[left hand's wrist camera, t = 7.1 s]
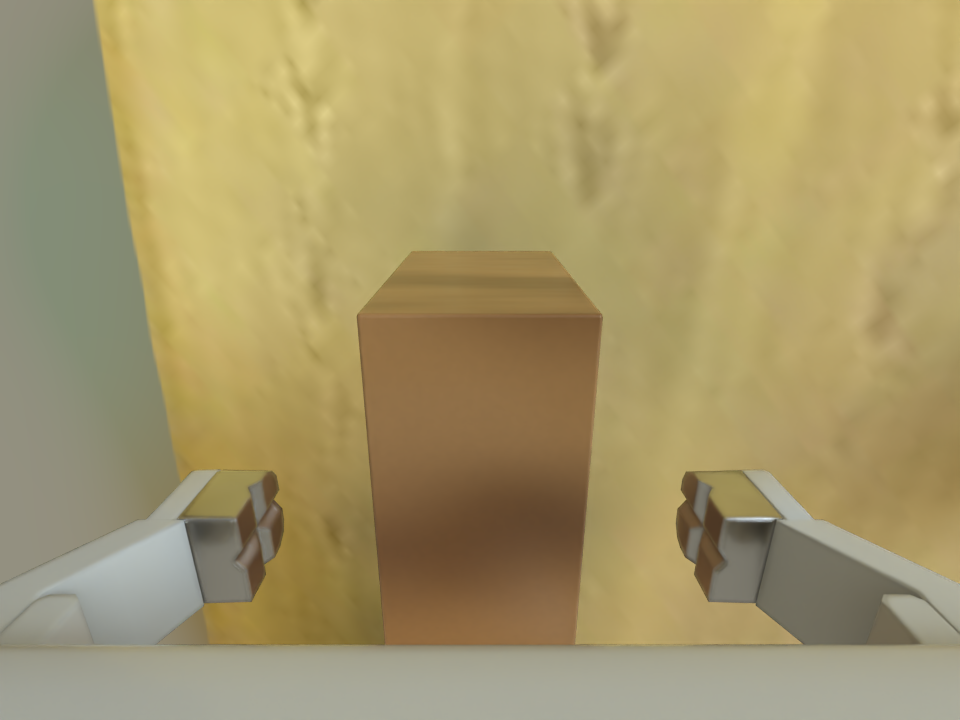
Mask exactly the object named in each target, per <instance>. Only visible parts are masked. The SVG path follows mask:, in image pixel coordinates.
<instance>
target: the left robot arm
mask: <svg viewBox="0 0 960 720" xmlns="http://www.w3.org/2000/svg"><path fill="white" fill-rule="evenodd" d="M278 491H279V486H278V481H277V476H276V474H275V473H274V472H273V471H258V470H195V471H192V472H191V473H190V474H189V475H188V476H187V477H186V478H185V479H184V480H183V481H182V482H181V483H180V484H179V485H178V486H177V487H176V488H175V489H174V490H173V492H172V493H171V494H170V495H169V496H168V497H167V498H166V499H165V500H164V501H163V502H162V503H161V504H160V505H159V506H158V507H157V508H156V509H155V510H154V511H153V513H152V514H151V515H150V516H149V517H148V518H147V519H146V520H136V521H133V522H131V523H129V524H127V525H125V526H123V527H121V528H119V529H116V530H114V531H112V532H110V533H108V534H106V535H104V536H101V537H99V538H97V539H95V540H93V541H91V542H89V543H86V544H84V545H82V546H80V547H78V548H76V549H74V550H72V551H69V552H67V553H65V554H63V555H61V556H59V557H57V558H54V559H52V560H50V561H48V562H46V563H44V564H42V565H39V566H37V567H35V568H33V569H31V570H29V571H27V572H25V573H22V574H20V575H18V576H16V577H14V578H12V579H10V580H7V581H5V582H3V583H1V584H0V720H960V584H959V583H956V582H954V581H952V580H950V579H948V578H946V577H944V576H942V575H939V574H937V573H935V572H933V571H931V570H929V569H927V568H924V567H922V566H920V565H918V564H916V563H914V562H912V561H910V560H907V559H905V558H903V557H901V556H899V555H897V554H895V553H893V552H890V551H888V550H886V549H884V548H882V547H880V546H878V545H876V544H873V543H871V542H869V541H867V540H865V539H863V538H861V537H859V536H856V535H854V534H852V533H850V532H848V531H846V530H844V529H842V528H839V527H837V526H835V525H833V524H831V523H829V522H827V521H824V520H814V519H813V518H812V517H811V516H810V515H809V514H808V513H807V511H806V510H805V509H804V508H803V507H802V506H801V505H800V504H799V503H798V502H797V501H796V500H795V499H794V498H793V497H792V496H791V495H790V494H789V492H788V491H787V490H786V489H785V488H784V487H783V486H782V485H781V484H780V483H779V482H778V481H777V480H776V479H775V478H774V477H773V476H772V475H771V474H770V472H768V471H765V470H763V469H756V470H734V471H692V472H686V473H685V475H684V477H683V480H682V485H681V491H682V493H683V494H684V496H685V498H686V499H687V500H686V501H685V502H684V503H683V504H682V505H681V506H680V507H679V508H678V510H677V518H676V530H677V538H678V542H679V545H680V548H681V550H682V552H683V554H684V556H685V557H686V558H687V559H689V560H690V561H692V562H693V563H694V564H696V566H695V572H694V575H695V577H696V579H697V581H698V583H699V585H700V586H701V588H702V590H703V592H704V594H705V596H706V598H707V600H708V601H709V602H735V603H756V606H757V607H759V608H760V609H761V610H762V611H763V612H765V613H766V614H767V615H768V616H770V617H771V618H772V619H773V620H775V621H776V622H777V623H778V624H779V625H781V626H782V627H783V628H784V629H786V630H787V631H788V632H789V633H791V634H792V635H793V636H794V637H796V638H797V639H798V640H799V641H800V642H802V643H803V644H804V645H156V644H157V643H158V642H160V641H161V640H162V639H163V638H165V637H166V636H167V635H168V634H170V633H171V632H172V631H173V630H175V629H176V628H177V627H178V626H179V625H181V624H182V623H183V622H184V621H186V620H187V619H188V618H189V617H191V616H192V615H193V614H194V613H196V612H197V611H198V610H199V609H200V608H202V607H203V606H204V603H225V602H252V600H253V598H254V596H255V594H256V592H257V590H258V588H259V586H260V585H261V583H262V581H263V579H264V577H265V575H266V572H265V566H264V564H266V563H267V562H268V561H270V560H271V559H273V558H274V557H275V556H276V554H277V552H278V550H279V548H280V545H281V541H282V537H283V532H284V517H283V510H282V508H281V507H280V506H279V505H278V504H277V503H276V502H275V501H274V500H273V499H274V498H275V496H276V494H277V493H278Z"/></svg>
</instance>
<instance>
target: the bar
mask: <svg viewBox="0 0 960 720" xmlns="http://www.w3.org/2000/svg"><path fill="white" fill-rule="evenodd" d="M602 320H603V317H602V314H601V313H600V312H599V310H598V309H597V308H596V307H595V305H594V304H593V303H592V302H591V300H590V299H589V298H588V297H587V295H586V294H585V293H584V292H583V290H582V289H581V288H580V287H579V286H578V284H577V283H576V282H575V281H574V279H573V278H572V277H571V276H570V274H569V273H568V272H567V271H566V269H565V268H564V267H563V266H562V264H561V263H560V262H559V261H558V259H557V258H556V257H555V256H554V254H553V253H552V252H550V251H412V252H411V253H410V254H409V255H408V257H407V258H406V259H405V260H404V261H403V262H402V263H401V265H400V266H399V267H398V268H397V269H396V270H395V272H394V273H393V274H392V275H391V276H390V277H389V279H388V280H387V281H386V282H385V283H384V284H383V285H382V287H381V288H380V289H379V290H378V291H377V292H376V294H375V295H374V296H373V297H372V298H371V299H370V301H369V302H368V303H367V304H366V305H365V306H364V308H363V309H362V310H361V311H360V312H359V313H358V315H357V324H358V336H359V347H360V359H361V371H362V382H363V394H364V406H365V417H366V429H367V441H368V452H369V464H370V475H371V487H372V499H373V510H374V522H375V534H376V545H377V557H378V569H379V580H380V592H381V604H382V615H383V627H384V638H385V645H575V638H576V626H577V615H578V603H579V591H580V579H581V567H582V556H583V544H584V532H585V520H586V508H587V497H588V485H589V473H590V461H591V449H592V438H593V426H594V414H595V402H596V390H597V379H598V367H599V355H600V343H601V331H602Z"/></svg>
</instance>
